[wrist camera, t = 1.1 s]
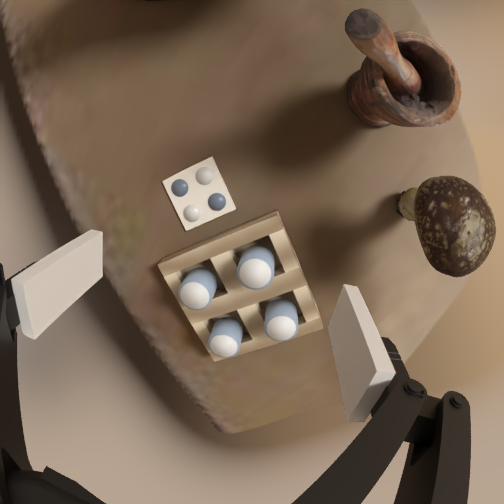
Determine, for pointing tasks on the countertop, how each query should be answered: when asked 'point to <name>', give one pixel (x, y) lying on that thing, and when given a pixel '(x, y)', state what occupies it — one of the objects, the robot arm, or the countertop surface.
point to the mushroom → (450, 223)
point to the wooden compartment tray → (233, 292)
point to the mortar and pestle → (400, 75)
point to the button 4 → (281, 320)
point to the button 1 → (198, 289)
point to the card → (199, 194)
